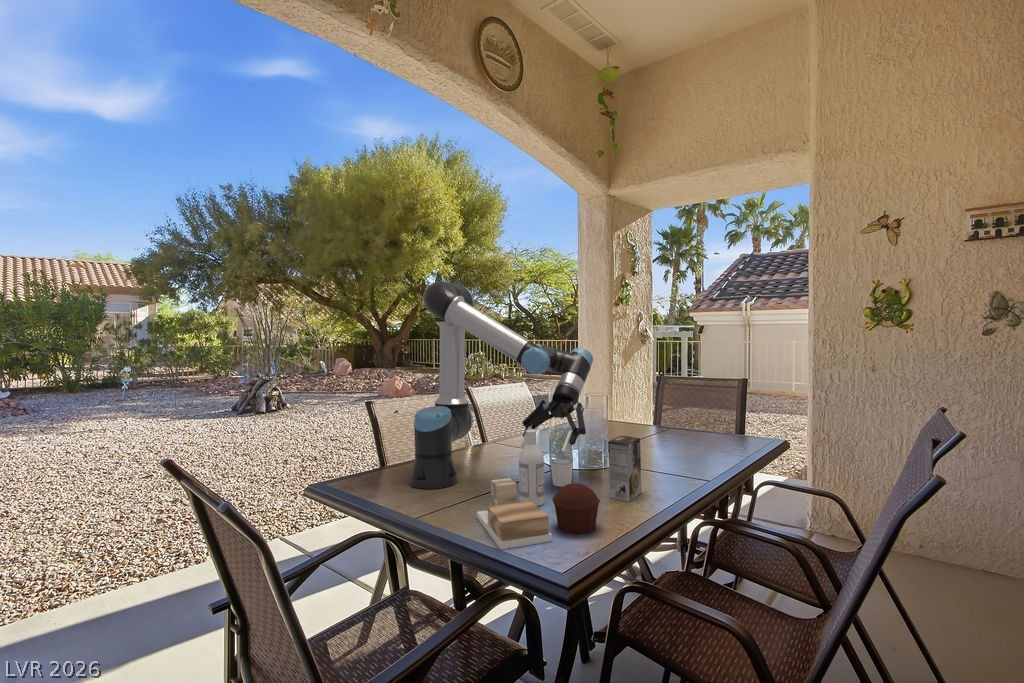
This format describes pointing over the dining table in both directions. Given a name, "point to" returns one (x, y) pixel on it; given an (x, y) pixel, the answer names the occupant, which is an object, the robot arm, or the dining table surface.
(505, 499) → the beech post
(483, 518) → the base board
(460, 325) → the robot arm
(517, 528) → the oak plinth
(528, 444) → the bath foam
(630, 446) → the coffee box
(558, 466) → the white cup
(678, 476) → the dining table surface
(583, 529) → the muffin
